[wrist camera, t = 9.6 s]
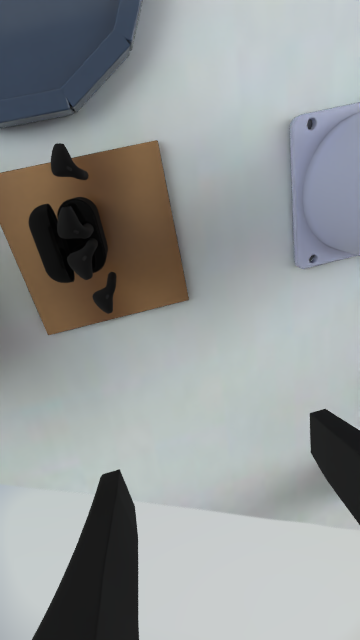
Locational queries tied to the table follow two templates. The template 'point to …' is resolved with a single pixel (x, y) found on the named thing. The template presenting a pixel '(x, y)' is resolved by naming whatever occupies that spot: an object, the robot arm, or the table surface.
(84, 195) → the cork coaster
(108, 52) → the plate
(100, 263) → the wireless earbuds
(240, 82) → the table surface
